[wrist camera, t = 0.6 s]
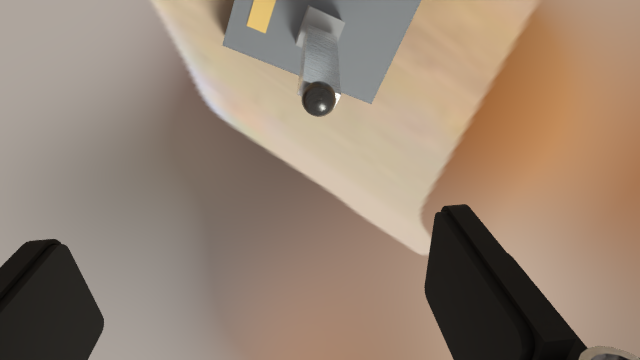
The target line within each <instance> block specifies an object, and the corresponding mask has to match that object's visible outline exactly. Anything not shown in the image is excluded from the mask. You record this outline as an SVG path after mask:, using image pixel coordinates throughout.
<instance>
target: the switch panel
mask: <svg viewBox="0 0 640 360" xmlns="http://www.w3.org/2000/svg"><path fill="white" fill-rule="evenodd" d="M420 2H421V0H234V4H233V8H232V11H231V15H230V19H229V23H228V26H227V30H226V34H225V37H224V41H223V46H225V47H228V48H230V49H233V50H235V51H238V52H240V53H243V54H245V55H248V56H251V57H253V58H256V59H258V60H261V61H263V62H266V63H268V64H271V65H273V66H276V67H278V68H281V69H283V70H286V71H289V72H291V73H294V74H296V75H299V72H300V63H301V55H302V46H303V37H304V34H305V31H306V29H307V26H308V24H310V25H312V26H314V27H316V28H319V29H321V30H323V31H326V32H328V33H330V34H332V35H335V36H337V41H338V56H339V71H340V86H341V92H342V93H344V94H347V95H349V96H352V97H354V98H357V99H359V100H362V101H364V102H367V103H370V104H372V101H373V99H374V97H375V95H376V93H377V91H378V89H379V87H380V85H381V83H382V81H383V79H384V77H385V74H386V72H387V70H388V68H389V66H390V64H391V62H392V60H393V58H394V56H395V54H396V52H397V50H398V47H399V45H400V43H401V41H402V39H403V37H404V35H405V33H406V31H407V29H408V27H409V25H410V22H411V20H412V18H413V16H414V14H415V12H416V10H417V8H418V6H419V4H420Z"/></svg>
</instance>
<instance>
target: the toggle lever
mask: <svg viewBox="0 0 640 360" xmlns="http://www.w3.org/2000/svg"><path fill="white" fill-rule="evenodd" d="M297 95H300V96H302V104H303V107H304V109H305V110H306V111H307V112H308V113H309V114H311V115H313V116H317V117H321V116H325V115H327V114H329V113H330V112H331V111H332V110H333V108H335V106H336V104H337V102H338V100H339V98H340V96H341V86H340V71H339V56H338V41H337V36H335V35H332V34H330V33H328V32H326V31H323V30H321V29H319V28H316V27H314V26H312V25H310V24H308V26H307V29H306V31H305V34H304V37H303V46H302V55H301V63H300V72H299V81H298V90H297Z"/></svg>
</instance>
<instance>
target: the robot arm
mask: <svg viewBox="0 0 640 360" xmlns="http://www.w3.org/2000/svg"><path fill="white" fill-rule="evenodd" d="M425 295H426V298H427V301H428V303H429V305H430V308H431V310H432V312H433V314H434V317H435V319H436V321H437V323H438V325H439V328H440V330H441V332H442V334H443V337H444V339H445V341H446V343H447V346H448V348H449V350H450V352H451V354H452V357H453V359H454V360H640V358H639V357H637V356H635V355H633V354H630V353H628V352H626V351H623V350H620V349H616V348H613V347H605V346H596V347H591V348H587V347H586V346H585V345H584V343H583V342H582V341H581V340H580V338H579V337H578V336H577V335H576V334H575V332H574V331H573V330H572V329H571V328H570V326H569V325H568V324H567V323H566V321H565V320H564V319H563V318H562V317H561V315H560V314H559V313H558V312H557V311H556V310H555V308H554V307H553V306H552V304H551V303H550V302H549V301H548V300H547V298H546V297H545V296H544V295H543V294H542V292H541V291H540V290H539V289H538V288H537V286H536V285H535V284H534V283H533V281H531V279H530V278H529V277H528V275H527V274H526V273H525V272H524V270H523V269H522V268H521V267H520V266H519V265H518V263H517V262H516V261H515V260H514V258H513V257H512V256H510V255H509V254H508V253H507V252H506V251H505V250H504V249H503V248H502V246H501V245H500V244H499V243H498V241H497V240H496V239H495V238H494V237H493V235H492V234H491V233H490V232H489V230H488V229H487V228H486V227H485V226H484V224H483V223H482V222H481V221H480V219H479V218H478V217H477V216H476V215H475V213H474V212H473V211H472V210H471V208H470V207H469V206H468V205H465V204H462V205H452V206H444V207H443V208H442V210H441V212H437V213H436V214H435V219H434V225H433V232H432V239H431V246H430V252H429V260H428V266H427V274H426V280H425ZM103 327H104V319H103V316H102V314H101V312H100V310H99V308H98V306H97V304H96V302H95V300H94V298H93V296H92V294H91V292H90V290H89V288H88V286H87V284H86V282H85V280H84V278H83V276H82V274H81V272H80V270H79V268H78V266H77V264H76V262H75V260H74V258H73V256H72V254H71V252H70V250H69V249H68V247H67V246H66V245H64V244H61V243H60V242H59V241H58V240H56V239H48V240H36V241H29V242H26V243H25V244H23V245H22V246H21V247H20V248H19V249H18V250H17V251H16V252H15V253H14V254H13V255H12V256H11V257H10V258H9V259H8V260H7V261H6V262H5V263H4V264H3V265H2V267H0V360H88V358H89V356H90V354H91V352H92V350H93V348H94V346H95V344H96V343H97V341H98V338H99V337H100V335H101V333H102V330H103Z"/></svg>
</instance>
